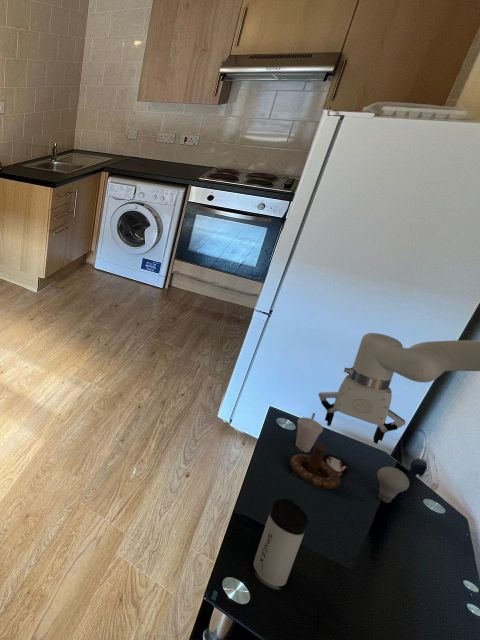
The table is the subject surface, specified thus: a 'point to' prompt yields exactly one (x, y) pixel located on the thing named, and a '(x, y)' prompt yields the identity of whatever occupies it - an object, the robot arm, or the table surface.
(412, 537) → the table surface
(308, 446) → the smoothie
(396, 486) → the lightbulb
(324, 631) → the table surface
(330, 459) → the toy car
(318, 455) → the brown t-shaped piece
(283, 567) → the travel mug
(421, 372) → the robot arm
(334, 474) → the ring
